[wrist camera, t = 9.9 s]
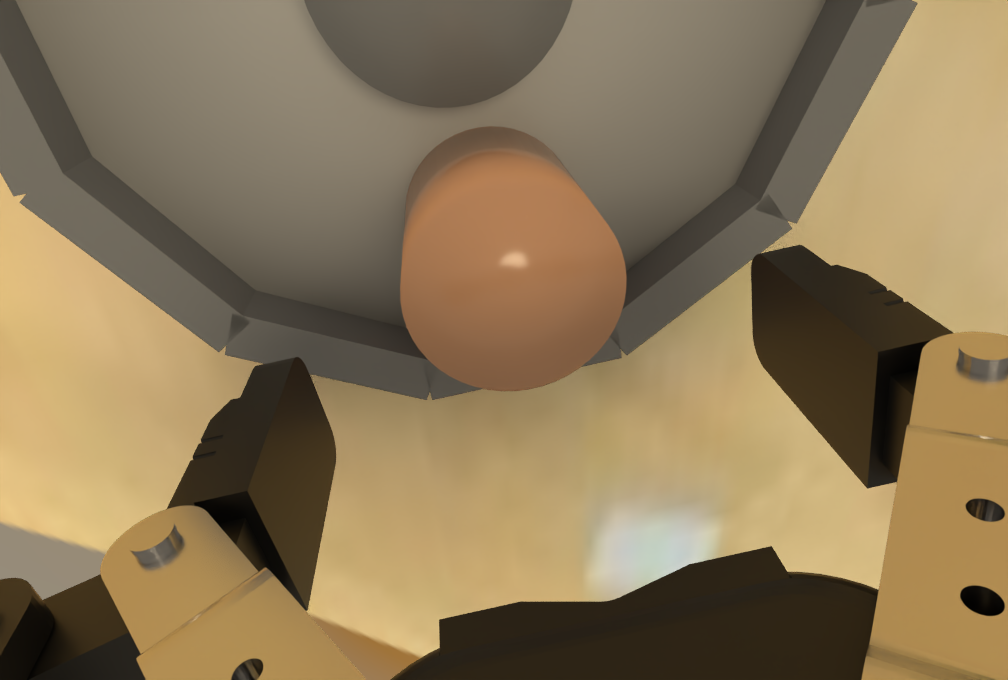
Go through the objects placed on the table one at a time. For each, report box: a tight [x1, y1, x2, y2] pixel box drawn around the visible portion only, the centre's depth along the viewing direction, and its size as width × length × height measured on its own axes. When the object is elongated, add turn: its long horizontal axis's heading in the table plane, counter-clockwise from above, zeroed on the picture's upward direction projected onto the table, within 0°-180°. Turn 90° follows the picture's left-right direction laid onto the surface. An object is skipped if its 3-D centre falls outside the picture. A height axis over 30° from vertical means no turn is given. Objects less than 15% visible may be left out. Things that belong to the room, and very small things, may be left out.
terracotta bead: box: [400, 126, 626, 391], centre depth 15 cm, size 4×4×5 cm
